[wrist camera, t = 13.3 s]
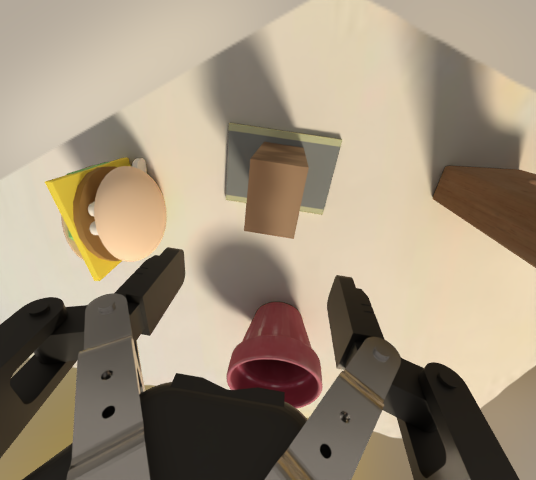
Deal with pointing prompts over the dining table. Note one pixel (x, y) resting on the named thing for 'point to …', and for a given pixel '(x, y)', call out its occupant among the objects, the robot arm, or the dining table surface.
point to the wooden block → (494, 204)
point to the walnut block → (275, 189)
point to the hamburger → (110, 213)
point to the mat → (251, 138)
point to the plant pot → (277, 356)
